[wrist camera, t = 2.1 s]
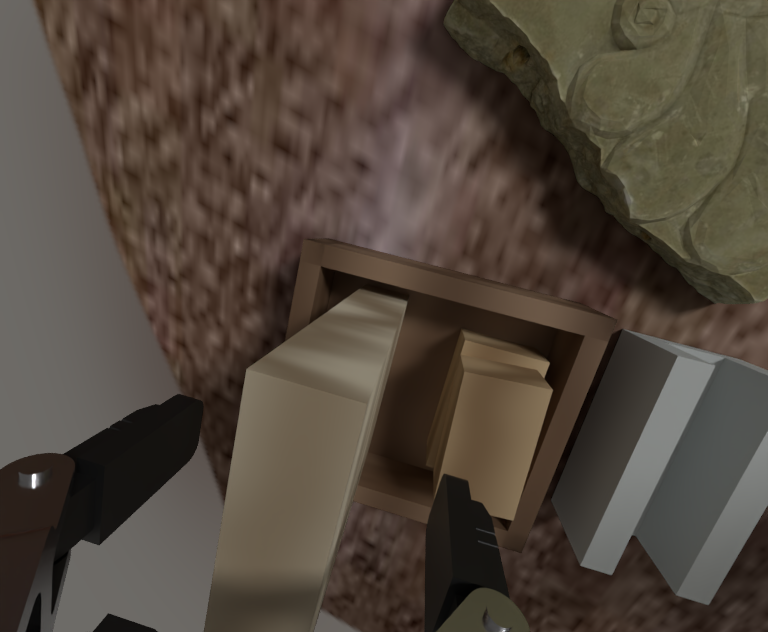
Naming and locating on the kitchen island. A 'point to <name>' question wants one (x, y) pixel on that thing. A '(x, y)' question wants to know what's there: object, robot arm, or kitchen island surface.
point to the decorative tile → (651, 117)
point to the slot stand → (669, 463)
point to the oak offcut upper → (492, 431)
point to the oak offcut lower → (483, 349)
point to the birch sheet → (300, 464)
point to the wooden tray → (432, 361)
